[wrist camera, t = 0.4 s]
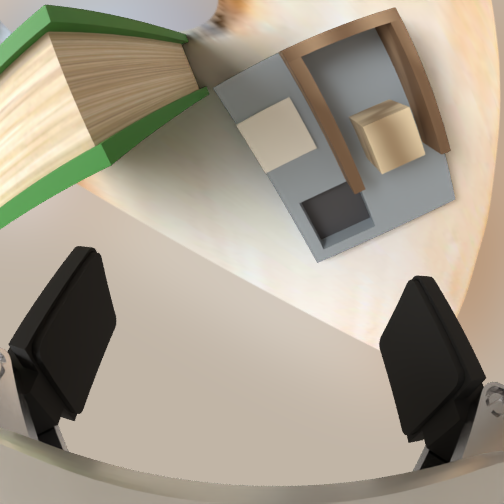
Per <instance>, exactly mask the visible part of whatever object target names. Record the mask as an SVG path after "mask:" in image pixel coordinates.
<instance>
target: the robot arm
mask: <svg viewBox="0 0 504 504" xmlns="http://www.w3.org/2000/svg"><path fill="white" fill-rule="evenodd" d="M115 326H116V315H115V311H114V308H113V304H112V300H111V296H110V292H109V288H108V285H107V280H106V276H105V271H104V267H103V262H102V258H101V255H100V254H99V253H97V252H96V250H95V249H94V248H92V247H82V246H77V247H75V248H74V250H73V251H72V252H71V253H70V255H69V256H68V257H67V259H66V260H65V261H64V262H63V264H62V265H61V266H60V268H59V269H58V271H57V272H56V273H55V275H54V276H53V277H52V279H51V280H50V281H49V283H48V284H47V286H46V287H45V289H44V290H43V291H42V293H41V294H40V296H39V297H38V299H37V300H36V302H35V303H34V305H33V306H32V308H31V309H30V311H29V312H28V314H27V315H26V317H25V318H24V320H23V321H22V323H21V325H20V326H19V328H18V329H17V331H16V333H15V334H14V336H13V338H12V339H11V341H10V343H9V346H10V348H9V350H8V352H7V351H6V350H5V349H3V348H1V347H0V504H504V385H502V384H500V383H498V382H490V383H488V384H487V385H485V386H484V387H483V384H482V382H483V381H484V380H485V379H486V376H485V374H484V372H483V370H482V368H481V365H480V363H479V361H478V359H477V357H476V355H475V353H474V351H473V349H472V347H471V345H470V343H469V341H468V339H467V337H466V335H465V333H464V331H463V329H462V327H461V325H460V324H459V322H458V320H457V318H456V316H455V314H454V313H453V311H452V309H451V307H450V305H449V304H448V302H447V300H446V299H445V297H444V295H443V293H442V292H441V290H440V288H439V287H438V285H437V283H436V282H435V280H434V279H433V278H432V277H429V276H415V277H413V279H412V280H409V281H408V283H407V285H406V287H405V289H404V291H403V294H402V296H401V298H400V300H399V302H398V304H397V306H396V308H395V310H394V312H393V314H392V316H391V318H390V320H389V322H388V324H387V326H386V328H385V330H384V332H383V334H382V336H381V338H380V343H379V347H380V351H381V354H382V357H383V361H384V364H385V368H386V371H387V374H388V378H389V382H390V385H391V388H392V392H393V396H394V400H395V404H396V408H397V411H398V415H399V419H400V423H401V428H402V431H403V433H404V434H405V435H407V438H408V442H409V443H410V442H415V441H420V440H423V439H424V440H425V444H426V445H425V447H424V450H423V452H422V454H421V456H420V458H419V460H418V462H417V464H416V466H415V468H414V469H413V471H412V472H408V473H404V474H399V475H394V476H388V477H382V478H376V479H370V480H363V481H356V482H346V483H336V484H324V485H308V486H245V485H230V484H229V485H228V484H218V483H208V482H199V481H191V480H184V479H177V478H170V477H165V476H159V475H154V474H149V473H144V472H139V471H135V470H131V469H127V468H122V467H118V466H114V465H111V464H107V463H103V462H100V461H97V460H93V459H90V458H86V457H83V456H80V455H77V454H74V453H71V452H69V451H68V449H67V446H66V444H65V442H64V439H63V437H62V434H61V432H60V429H59V426H58V423H59V420H60V417H63V418H66V419H69V420H72V421H75V418H76V416H77V414H80V413H81V412H82V411H83V409H84V405H85V403H86V400H87V397H88V395H89V392H90V389H91V386H92V384H93V381H94V378H95V376H96V373H97V371H98V368H99V366H100V363H101V360H102V358H103V356H104V353H105V350H106V348H107V345H108V343H109V341H110V338H111V336H112V333H113V331H114V329H115Z"/></svg>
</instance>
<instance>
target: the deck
mask: <svg viewBox="0 0 504 504" xmlns="http://www.w3.org/2000/svg"><path fill="white" fill-rule="evenodd" d="M301 58H302V60H303V61H304V63H305V65H306V66H307V68H308V70H309V72H310V74H311V75H312V77H313V79H314V81H315V83H316V85H317V86H318V88H319V90H320V92H321V94H322V96H323V98H324V100H325V102H326V104H327V106H328V107H329V109H330V111H331V113H332V115H333V117H334V119H335V122H336V124H337V126H338V128H339V130H340V132H341V134H342V136H343V138H344V140H345V143H346V145H347V147H348V149H349V151H350V154H351V156H352V158H353V160H354V163H355V165H356V167H357V170H358V172H359V174H360V177H361V179H362V181H363V184H364V186H365V189H366V190H363V191H361V192H359V193H357V194H354V192H353V191H352V189H351V187H350V186H349V184H348V183H347V181H346V180H345V178H344V176H343V174H342V172H341V169H340V167H339V165H338V163H337V161H336V159H335V157H334V154H333V152H332V150H331V148H330V146H329V144H328V142H327V140H326V138H325V136H324V134H323V132H322V130H321V128H320V126H319V124H318V122H317V120H316V118H315V117H314V115H313V113H312V111H311V109H310V107H309V105H308V103H307V102H306V100H305V98H304V96H303V94H302V92H301V91H300V89H299V87H298V85H297V84H296V82H295V80H294V78H293V77H292V75H291V73H290V71H289V70H288V68H287V66H286V65H285V63H284V61H283V60H282V58H281V56H280V55H279V53H277V54H275V55H273V56H271V57H269V58H267V59H265V60H263V61H261V62H259V63H257V64H255V65H253V66H251V67H249V68H248V69H246V70H244V71H242V72H240V73H238V74H237V75H235V76H233V77H231V78H229V79H228V80H226V81H224V82H222V83H221V84H219V85H217V86H216V87H214V88H213V89H214V91H215V92H216V94H217V95H218V97H219V98H220V100H221V101H222V103H223V104H224V106H225V108H226V109H227V111H228V112H229V114H230V115H231V117H232V119H233V120H234V122H235V123H236V126H237V128H238V129H239V131H240V133H241V134H242V136H243V137H244V139H245V141H246V142H247V144H248V145H249V147H250V149H251V150H252V152H253V154H254V155H255V157H256V159H257V160H258V162H259V163H260V165H261V167H262V168H263V170H264V172H265V173H266V174H267V176H268V177H269V179H270V181H271V182H272V184H273V186H274V187H275V189H276V191H277V193H278V194H279V196H280V198H281V199H282V201H283V203H284V205H285V206H286V208H287V210H288V211H289V213H290V215H291V217H292V218H293V220H294V222H295V224H296V225H297V227H298V229H299V231H300V233H301V234H302V236H303V238H304V240H305V242H306V243H307V245H308V247H309V249H310V251H311V252H312V254H313V256H314V258H315V260H316V261H317V263H318V262H321V261H323V260H325V259H328V258H330V257H332V256H334V255H337V254H339V253H341V252H343V251H346V250H348V249H350V248H352V247H355V246H357V245H359V244H361V243H363V242H366V241H368V240H370V239H372V238H374V237H377V236H379V235H381V234H383V233H385V232H387V231H390V230H392V229H394V228H396V227H398V226H400V225H403V224H405V223H407V222H409V221H411V220H413V219H415V218H417V217H420V216H422V215H424V214H426V213H428V212H430V211H432V210H434V209H436V208H438V207H440V206H442V205H445V204H447V203H449V202H451V201H453V200H455V196H454V191H453V186H452V181H451V177H450V172H449V168H448V164H447V160H446V156H445V153H444V154H442V155H441V154H440V153H438V152H437V151H435V150H434V149H432V148H431V147H429V146H428V145H426V144H424V143H423V142H422V139H421V136H420V133H419V130H418V127H417V124H416V121H415V119H414V121H415V124H416V127H417V130H418V133H419V136H420V139H421V142H422V145H423V148H424V151H425V155H424V156H421V157H419V158H417V159H415V160H412V161H410V162H408V163H406V164H404V165H401V166H399V167H397V168H395V169H393V170H390V171H388V172H386V173H384V174H381V173H380V172H379V170H378V169H377V168H376V167H375V166H374V165H373V164H372V163H371V162H370V161H369V160H368V159H367V158H366V155H365V153H364V150H363V148H362V146H361V143H360V141H359V139H358V137H357V134H356V132H355V130H354V128H353V125H352V123H351V121H350V119H349V116H352V115H354V114H356V113H358V112H361V111H363V110H365V109H368V108H370V107H372V106H375V105H377V104H379V103H382V102H384V101H386V100H389V99H390V100H393V101H395V102H398V103H401V104H403V105H406V106H408V107H410V105H409V102H408V100H407V97H406V95H405V92H404V90H403V87H402V85H401V82H400V80H399V78H398V75H397V73H396V71H395V68H394V66H393V64H392V62H391V60H390V57H389V55H388V53H387V51H386V49H385V47H384V45H383V43H382V41H381V39H380V37H379V35H378V33H377V31H376V29H375V28H372V29H369V30H366V31H363V32H361V33H358V34H355V35H352V36H350V37H347V38H345V39H342V40H340V41H337V42H335V43H332V44H330V45H327V46H325V47H323V48H320V49H318V50H316V51H313V52H311V53H309V54H306V55H304V56H302V57H301ZM410 110H411V108H410ZM411 113H412V110H411ZM412 115H413V113H412ZM413 118H414V116H413Z"/></svg>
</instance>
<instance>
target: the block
mask: <svg viewBox="0 0 504 504" xmlns="http://www.w3.org/2000/svg"><path fill="white" fill-rule="evenodd" d="M349 119H350V121H351V123H352V125H353V128H354V130H355V132H356V134H357V137H358V139H359V141H360V143H361V146H362V148H363V150H364V153H365V155H366V158H367V159H368V160H369V161H370V162H371V163H372V164H373V165H374V166H375V167H376V168H377V169H378V170H379V172H380V173H381V174H384V173H386V172H388V171H390V170H393V169H395V168H397V167H399V166H401V165H404V164H406V163H408V162H410V161H412V160H415V159H417V158H419V157H421V156H424V155H425V151H424V148H423V145H422V142H421V139H420V136H419V133H418V130H417V127H416V124H415V121H414V118H413V115H412V113H411V110H410V107H408V106H406V105H403V104H401V103H398V102H395V101H393V100H390V99H389V100H386V101H384V102H382V103H379V104H377V105H375V106H372V107H370V108H368V109H365V110H363V111H361V112H358V113H356V114H354V115H352V116H349Z"/></svg>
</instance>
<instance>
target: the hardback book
mask: <svg viewBox="0 0 504 504" xmlns="http://www.w3.org/2000/svg"><path fill="white" fill-rule="evenodd" d="M187 42H188V39H187V37H186V35H185V34H182V33H179V32H176V31H173V30H169V29H166V28H163V27H159V26H155V25H152V24H148V23H145V22H141V21H137V20H133V19H129V18H124V17H120V16H115V15H111V14H105V13H100V12H95V11H89V10H83V9H77V8H69V7H62V6H53V5H44V6H43V7H42V8H40V9H39V10H38V11H37V12H35V13H34V14H33V15H32V16H31V17H30V18H29V19H27V20H26V21H25V22H24V23H23V24H22V25H21V26H20V27H18V28H17V29H16V30H15V31H14V32H13V33H12V34H11V35H10V36H9V37H8V38H7V39H6V40H5V41H4V42H3V43H2V44H1V45H0V229H1V228H3V227H4V226H6V225H7V224H8V223H10V222H11V221H13V220H15V219H16V218H18V217H19V216H21V215H23V214H24V213H26V212H27V211H29V210H30V209H32V208H34V207H36V206H37V205H39V204H41V203H42V202H44V201H46V200H47V199H49V198H51V197H53V196H54V195H56V194H58V193H59V192H61V191H63V190H65V189H67V188H68V187H70V186H72V185H74V184H76V183H78V182H80V181H81V180H83V179H85V178H87V177H89V176H91V175H93V174H95V173H97V172H99V171H101V170H103V169H105V168H107V167H109V166H111V165H112V164H113V163H115V162H116V161H117V160H118V159H120V158H121V157H122V156H123V155H124V154H126V153H127V152H128V151H130V150H131V149H132V148H133V147H135V146H136V145H137V144H138V143H140V142H141V141H142V140H144V139H145V138H146V137H148V136H149V135H150V134H152V133H153V132H154V131H156V130H157V129H158V128H160V127H161V126H163V125H164V124H165V123H167V122H168V121H170V120H171V119H173V118H174V117H175V116H177V115H178V114H180V113H181V112H183V111H184V110H186V109H187V108H189V107H190V106H192V105H193V104H195V103H196V102H198V101H199V100H201V99H202V98H204V97H205V96H207V95H209V92H208V89H207V87H203V88H201V89H199V87H198V84H197V82H196V80H195V77H194V75H193V72H192V70H191V67H190V65H189V62H188V60H187V57H186V55H185V52H184V50H183V47H182V44H184V43H187Z"/></svg>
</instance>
